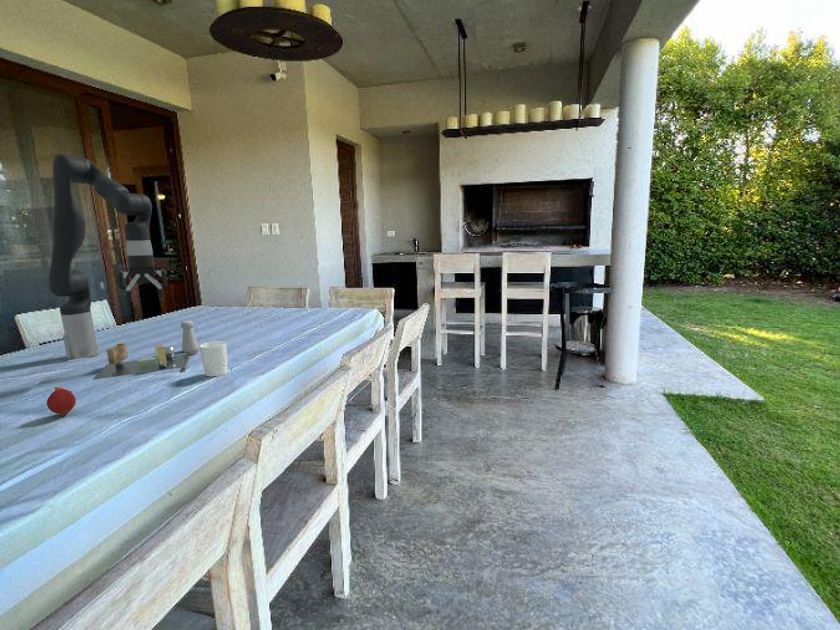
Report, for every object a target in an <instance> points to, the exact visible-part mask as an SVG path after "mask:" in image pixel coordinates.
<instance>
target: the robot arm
mask: <svg viewBox="0 0 840 630" xmlns="http://www.w3.org/2000/svg"><path fill="white" fill-rule="evenodd" d="M52 179H53V180H52V181H53V195H54V202H53V203H54V208H53V223H52V224H53V225H52V234H53V235H52V252H51V261H50V267H49V274H48V288H49V290H50V292H51V293H52V294H53V296H56V297H58V298H65V297H68V300H67V301H66V302H65V303H64V304H62V305H61V306H60V307H59V313H60V318H61V323H62V328H63V334H62V338H63V343H64V349H65V353H66V359H67V360H80V359H86V358H87V359H88V358H91V356H92V357H94V356H97V355H99V347H98V344H97V336H96V332H95V327H94V321H93V315H92V310H91V305H92V297H91V296H92V295H91V288H90V281H89V279H88V277H87V275H86V274H85V273H84V272H83V271H81V270H76V269H75V270H72V269H71V268H72V262H73V259H74V258H75V256H76V254H77V253H78V251H79V250H80V249H81V247H82V245H83V243H84V241H85V238H86V228H87V227H86V225H87V223H86V219H85V216H84V215H83V213H82V212H81V209H79V206H77V204H76V202H75V200H74V198H73V194H72V188H71V187H72V186H71V185H72V183H73V184H81V185H83V184H85V185H90V186H93V187H94V191H95V192H96V194H97V195H98V196H99V197H101V198H102V199H104V200H106V201H107V202H109V203H110V204H111V205H112V207H113V209H114V210H116V212H118V213H119V214H121V215H124V216H135V219H134V221H132V222H127V223H125V224H124V225H123V227H124V228H123V229H124V234H125V250H126V251H125V252H126V253H125V254H126V255H127V256H126V257H127V265H128V271H122V270H121V271H119V272H118V274H117V275H118V288H119V290H120V291H121V290H122V291H126V297H127V300H128V301H129V302H130V303H133V302H134V296H133V290H132V288H133V287H134V285H135V284H138V285H139V284H149V283H152V284H153V285H154V286H155V287H156V288H157V295H158V300H159V301H160V300H162V298H163V297H164V293H163V292H164V291H163V289H165V288H167V287H168V286H169V284H168V279H167V275H166V274H167V273H166V270H165V269H161V270H156V268H155V262H154V252H153V247H152V242H151V235H150V224H151V223H150V222H151V216H152V210H153V205H152V201H151V199H150V198H149V197H148V196H147V195H145V194H144V193H143V194H142V193H130V191H129V190H128V188H126V187H125V186H123V185H122V184H120V183H119V182H117V181H115V180H114V179H111V178H110V177H109V176H108V175H107V174H105V172H103V171H102V170H101V169H100V168H99V167H98V166H96V164H94V163H93V162H92V161H91V160H89V159H87V158H85V157H81V156H75V155H70V154H65V153H59V154H56V155H55V156H54V159H53V162H52ZM156 275H159V277H161V279H162V284H161V283H160V282H159V281H158V280H157V279H156V278H155V276H156ZM127 276H129V278H130V279H132V280H131V281H130V282H129V284H128V285H127V286H126V285H125V279H126V278H127Z"/></svg>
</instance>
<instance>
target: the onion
mask: <svg viewBox="0 0 840 630" xmlns="http://www.w3.org/2000/svg"><path fill="white" fill-rule="evenodd" d="M76 403H77V400H76V395H74V394H73V392H72V391H70V390H69V389H66V388H62V387H61V386H56V387H54V391H53V392H51V393H50V395H49V396H48V398H47V400H46V406H47V408H48V410H49V411H50V412H52V413H54V414H57V415H59V416H62V417H63V416H66V415H68V413H70V412H71V411H72V410H73V409H74V407H75V405H76Z"/></svg>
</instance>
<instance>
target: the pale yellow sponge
mask: <svg viewBox="0 0 840 630" xmlns="http://www.w3.org/2000/svg"><path fill="white" fill-rule="evenodd" d="M165 347H166V346H163V345H162V344H156V345H154V352H155V355H156V356H155V357H157V361H158V367H166V366H167V365H166V363H167V360H166V354H165Z"/></svg>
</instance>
